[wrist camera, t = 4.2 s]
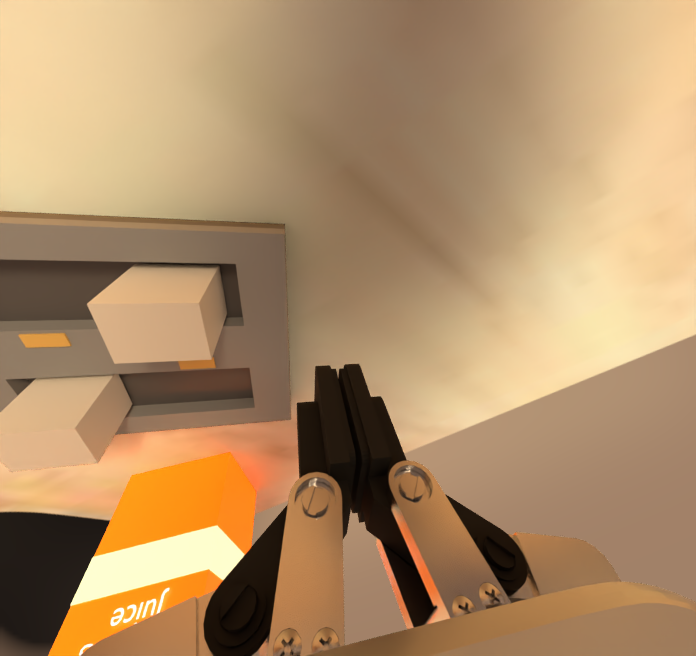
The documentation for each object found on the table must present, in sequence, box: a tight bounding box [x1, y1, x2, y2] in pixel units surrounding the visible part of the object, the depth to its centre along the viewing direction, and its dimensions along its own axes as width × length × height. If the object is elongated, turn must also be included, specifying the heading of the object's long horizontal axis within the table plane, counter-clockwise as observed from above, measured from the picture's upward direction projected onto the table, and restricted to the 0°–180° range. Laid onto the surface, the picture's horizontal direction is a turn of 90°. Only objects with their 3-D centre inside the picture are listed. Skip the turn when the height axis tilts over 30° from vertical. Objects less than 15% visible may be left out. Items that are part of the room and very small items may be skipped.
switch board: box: [0, 211, 291, 435], centre depth 17 cm, size 18×14×2 cm
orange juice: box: [48, 452, 256, 656], centre depth 19 cm, size 8×9×20 cm
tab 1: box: [0, 374, 132, 472], centre depth 16 cm, size 4×3×4 cm
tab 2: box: [87, 264, 227, 364], centre depth 14 cm, size 4×3×4 cm
